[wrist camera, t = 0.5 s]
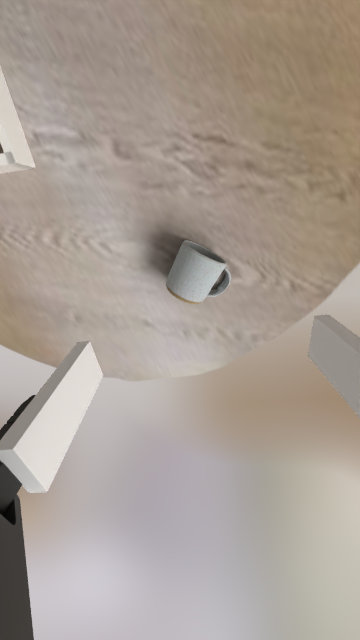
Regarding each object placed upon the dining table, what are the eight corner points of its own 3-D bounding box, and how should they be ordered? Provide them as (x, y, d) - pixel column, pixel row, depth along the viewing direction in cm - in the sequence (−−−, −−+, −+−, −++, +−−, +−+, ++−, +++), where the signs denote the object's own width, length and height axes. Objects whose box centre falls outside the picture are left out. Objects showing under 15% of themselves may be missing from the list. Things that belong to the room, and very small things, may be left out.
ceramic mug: (164, 280, 39) (161, 295, 33) (183, 236, 36) (184, 243, 29) (215, 302, 41) (222, 321, 35) (238, 263, 38) (250, 275, 31)
